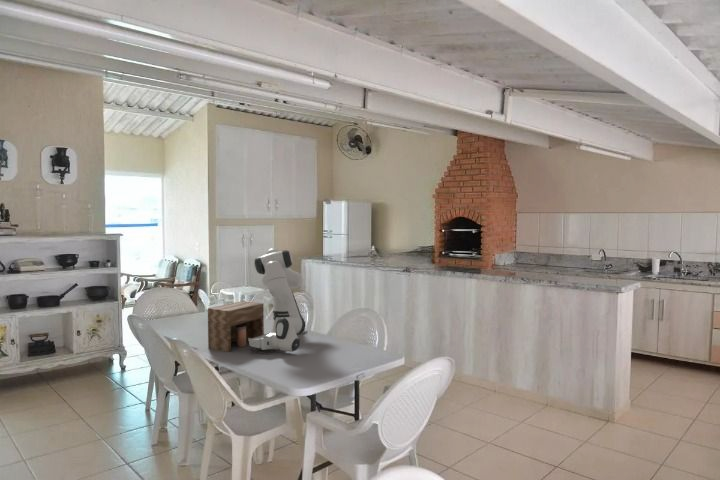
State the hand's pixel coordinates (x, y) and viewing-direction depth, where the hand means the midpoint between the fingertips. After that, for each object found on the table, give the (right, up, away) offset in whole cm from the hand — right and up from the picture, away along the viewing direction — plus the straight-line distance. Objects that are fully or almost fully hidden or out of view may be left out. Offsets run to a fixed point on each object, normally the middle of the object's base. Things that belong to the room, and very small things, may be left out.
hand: (254, 337), depth 290 cm
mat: (+7, -6, -4) cm, 10 cm away
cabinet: (-12, -5, +7) cm, 15 cm away
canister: (-8, -6, +5) cm, 11 cm away
